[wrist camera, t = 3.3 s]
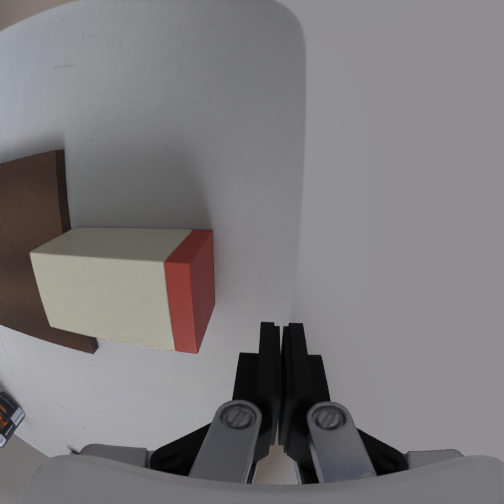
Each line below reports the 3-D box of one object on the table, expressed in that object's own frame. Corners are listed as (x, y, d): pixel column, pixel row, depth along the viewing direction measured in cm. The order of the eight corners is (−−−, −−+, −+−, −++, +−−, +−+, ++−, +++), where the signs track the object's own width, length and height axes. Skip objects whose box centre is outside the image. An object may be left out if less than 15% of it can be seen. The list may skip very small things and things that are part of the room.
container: (75, 227, 17) (28, 252, 12) (212, 229, 17) (189, 262, 12) (87, 291, 19) (50, 326, 14) (215, 304, 18) (198, 354, 14)
